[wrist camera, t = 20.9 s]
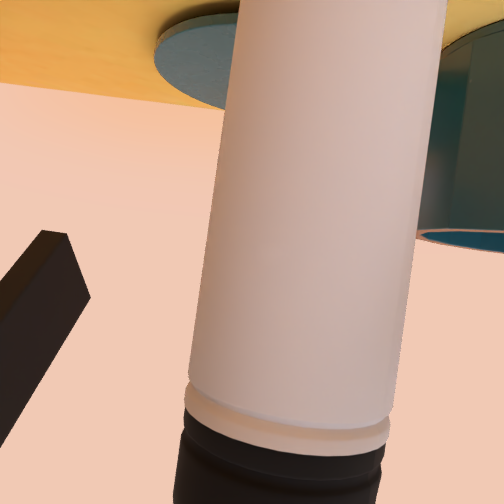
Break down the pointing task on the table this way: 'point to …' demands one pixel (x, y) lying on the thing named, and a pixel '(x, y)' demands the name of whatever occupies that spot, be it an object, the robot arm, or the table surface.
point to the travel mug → (309, 251)
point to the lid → (199, 56)
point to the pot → (467, 146)
